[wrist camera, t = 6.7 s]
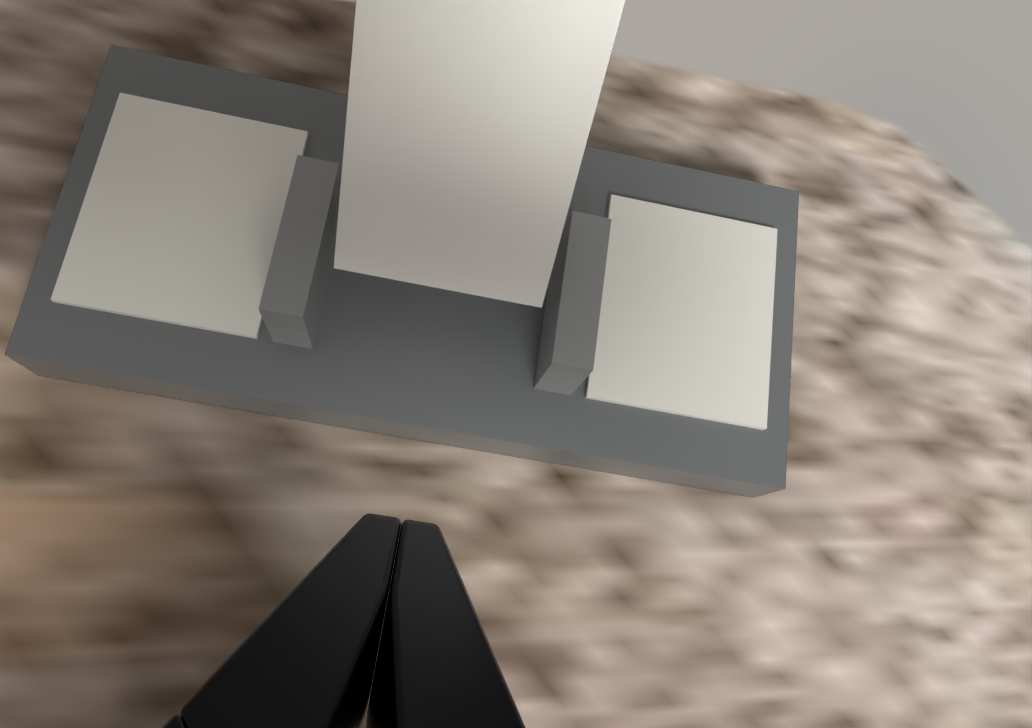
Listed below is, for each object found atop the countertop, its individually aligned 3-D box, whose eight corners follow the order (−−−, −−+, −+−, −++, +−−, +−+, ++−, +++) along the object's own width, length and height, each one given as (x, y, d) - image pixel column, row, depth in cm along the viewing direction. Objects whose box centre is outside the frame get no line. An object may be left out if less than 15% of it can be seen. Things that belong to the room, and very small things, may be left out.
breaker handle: (545, 313, 19) (654, -80, 14) (327, 271, 19) (361, -152, 14) (545, 263, 21) (641, -99, 16) (347, 224, 21) (383, -163, 16)
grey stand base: (753, 497, 24) (834, 475, 19) (38, 375, 22) (-49, 321, 17) (769, 220, 26) (843, 147, 22) (133, 88, 24) (78, -21, 20)
